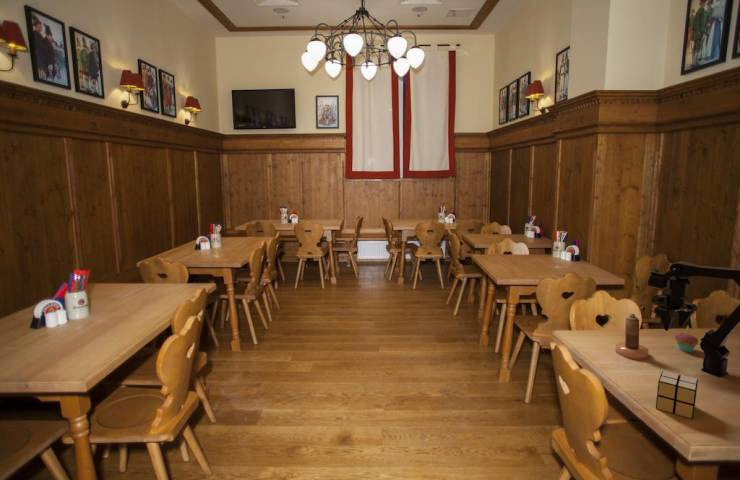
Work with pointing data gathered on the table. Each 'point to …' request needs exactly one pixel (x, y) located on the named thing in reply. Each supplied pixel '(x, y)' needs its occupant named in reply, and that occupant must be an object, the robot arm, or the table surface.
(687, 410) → the puzzle cube
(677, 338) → the cupcake
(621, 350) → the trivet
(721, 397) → the table surface
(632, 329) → the pepper mill
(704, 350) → the robot arm
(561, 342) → the table surface
